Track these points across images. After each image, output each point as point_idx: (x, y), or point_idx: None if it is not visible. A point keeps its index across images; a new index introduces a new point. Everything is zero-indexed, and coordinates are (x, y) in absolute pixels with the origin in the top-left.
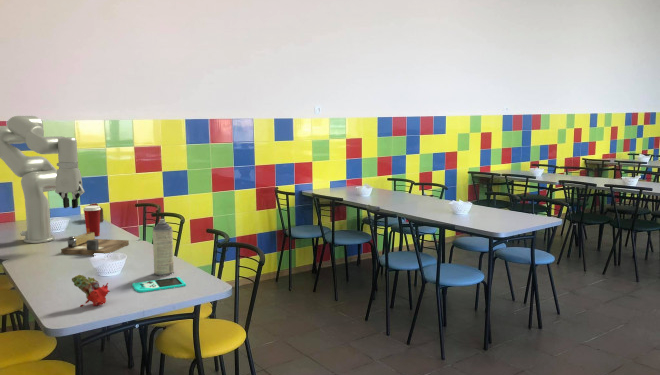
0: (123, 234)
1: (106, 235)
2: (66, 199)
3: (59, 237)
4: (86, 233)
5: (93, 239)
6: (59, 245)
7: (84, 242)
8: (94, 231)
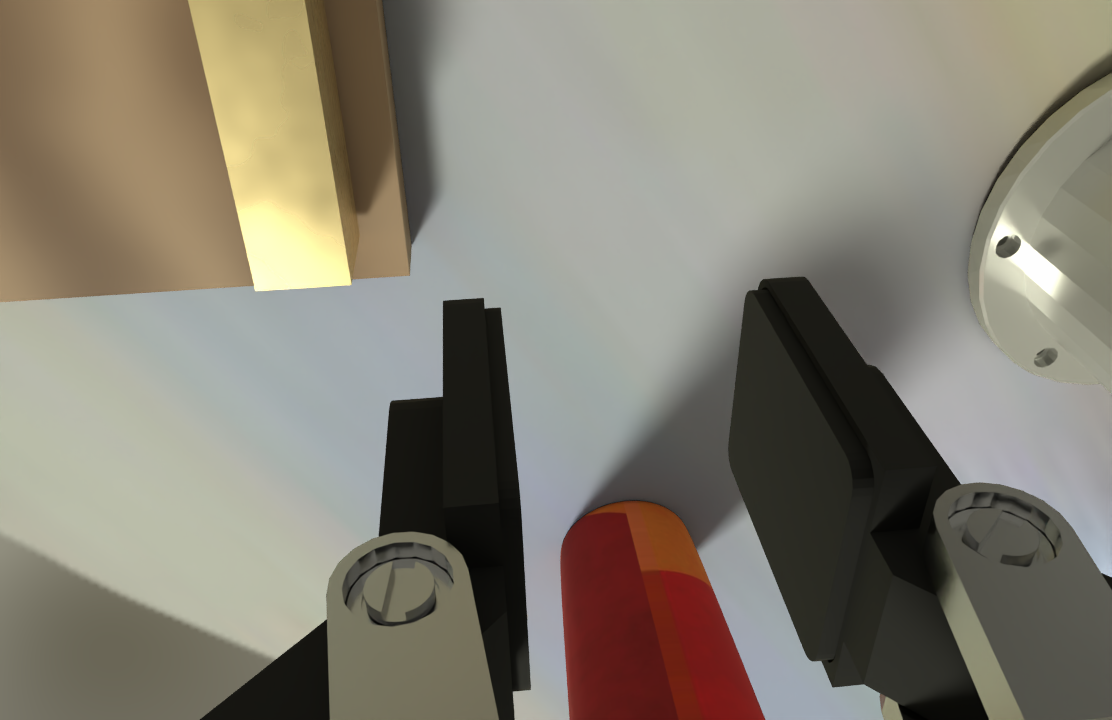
0: None
1: None
2: (833, 544)
3: (957, 399)
4: (303, 172)
5: None
6: (739, 28)
7: None
8: (583, 560)
